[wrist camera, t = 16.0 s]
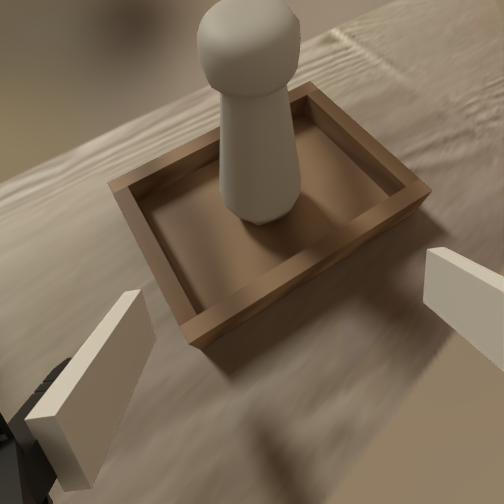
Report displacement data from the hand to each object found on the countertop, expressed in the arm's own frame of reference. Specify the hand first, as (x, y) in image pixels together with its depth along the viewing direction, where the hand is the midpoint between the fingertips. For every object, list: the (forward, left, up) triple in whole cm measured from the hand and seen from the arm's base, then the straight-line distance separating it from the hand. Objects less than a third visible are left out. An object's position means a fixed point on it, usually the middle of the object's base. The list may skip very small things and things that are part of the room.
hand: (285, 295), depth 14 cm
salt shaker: (-3, +9, -6) cm, 11 cm away
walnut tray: (-3, +9, -7) cm, 12 cm away
